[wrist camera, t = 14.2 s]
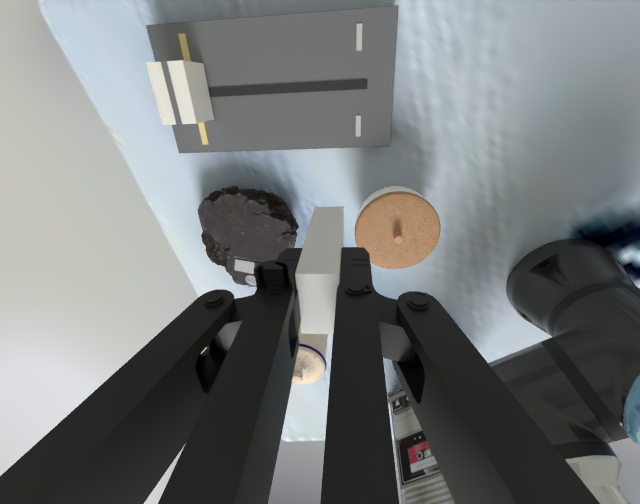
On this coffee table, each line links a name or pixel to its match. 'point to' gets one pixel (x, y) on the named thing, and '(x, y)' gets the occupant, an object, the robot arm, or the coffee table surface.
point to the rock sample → (245, 230)
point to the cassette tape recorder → (415, 457)
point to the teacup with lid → (310, 358)
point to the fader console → (289, 79)
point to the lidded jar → (397, 227)
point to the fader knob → (181, 92)
